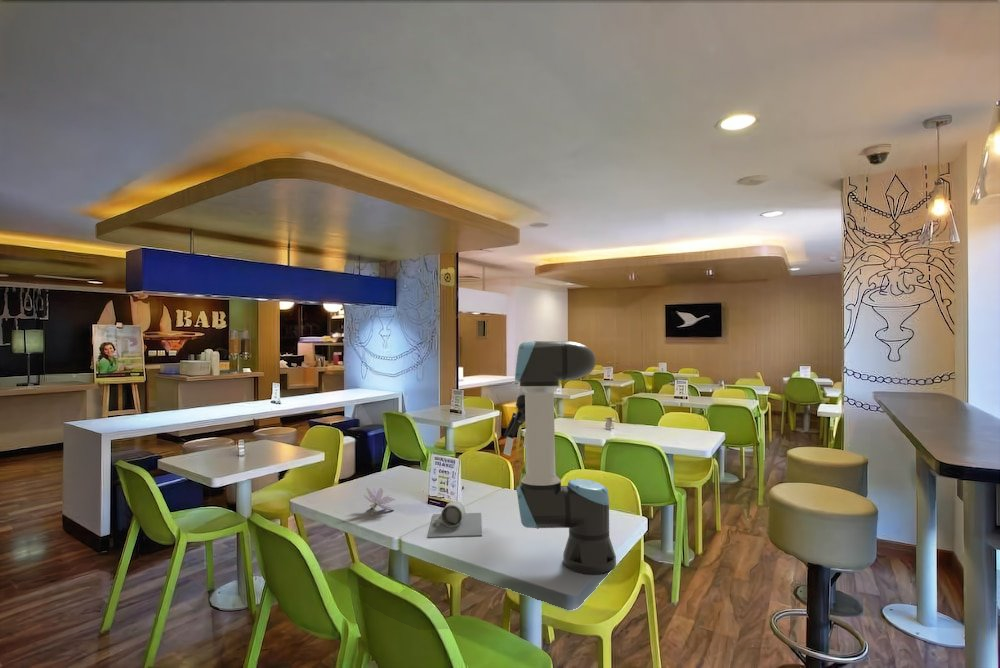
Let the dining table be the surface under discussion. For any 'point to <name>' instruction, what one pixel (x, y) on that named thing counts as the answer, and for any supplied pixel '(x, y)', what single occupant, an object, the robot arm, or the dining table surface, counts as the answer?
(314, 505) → the dining table surface
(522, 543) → the dining table surface
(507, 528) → the dining table surface
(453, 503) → the ceramic mug
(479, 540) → the dining table surface
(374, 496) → the water lily
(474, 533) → the placemat
